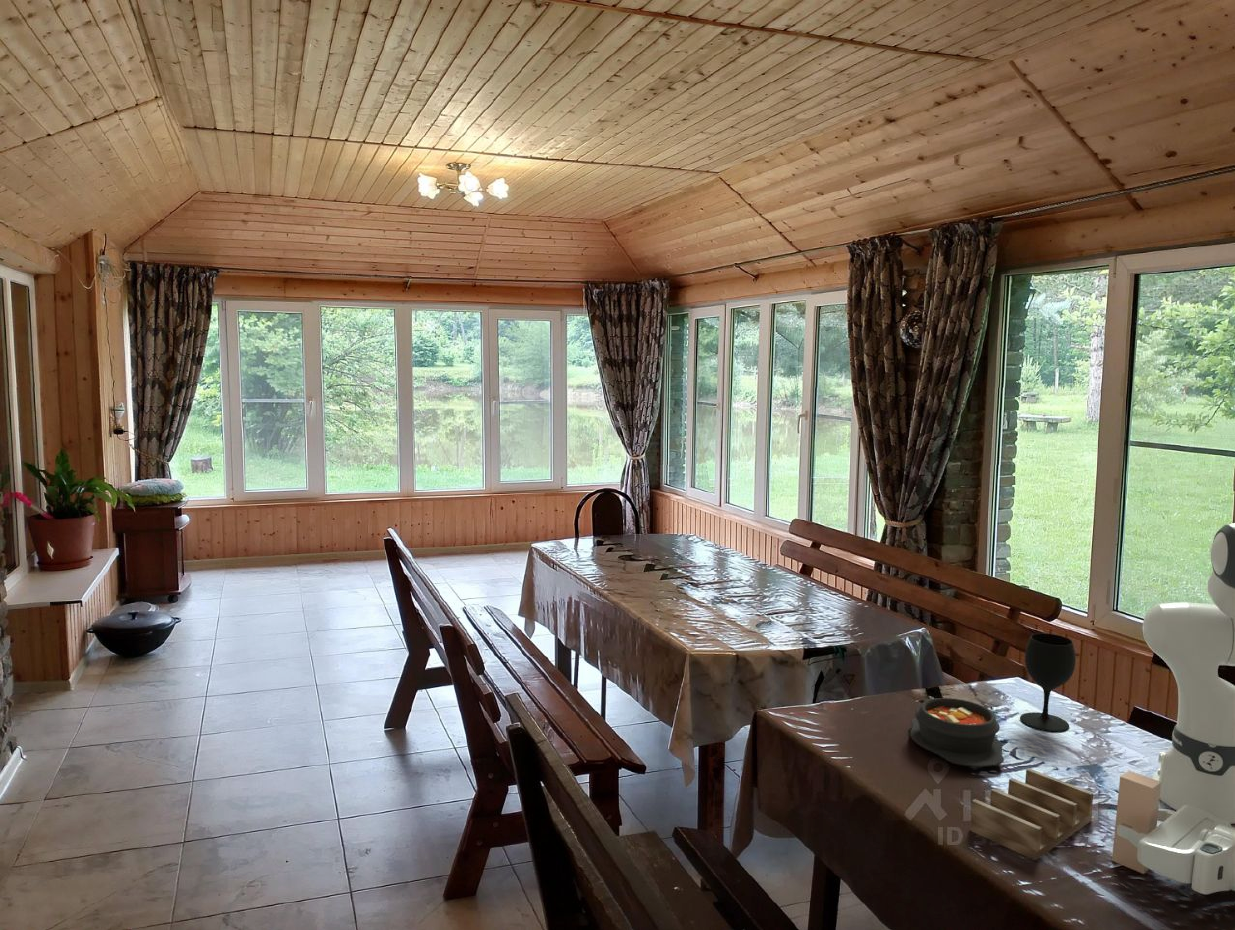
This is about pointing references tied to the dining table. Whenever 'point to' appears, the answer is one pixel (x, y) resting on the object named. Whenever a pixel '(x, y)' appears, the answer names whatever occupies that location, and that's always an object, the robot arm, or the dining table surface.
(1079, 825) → the drying rack
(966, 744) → the casserole
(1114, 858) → the beige rectangular block
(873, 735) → the dining table surface
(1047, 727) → the wine glass
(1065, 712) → the dining table surface
